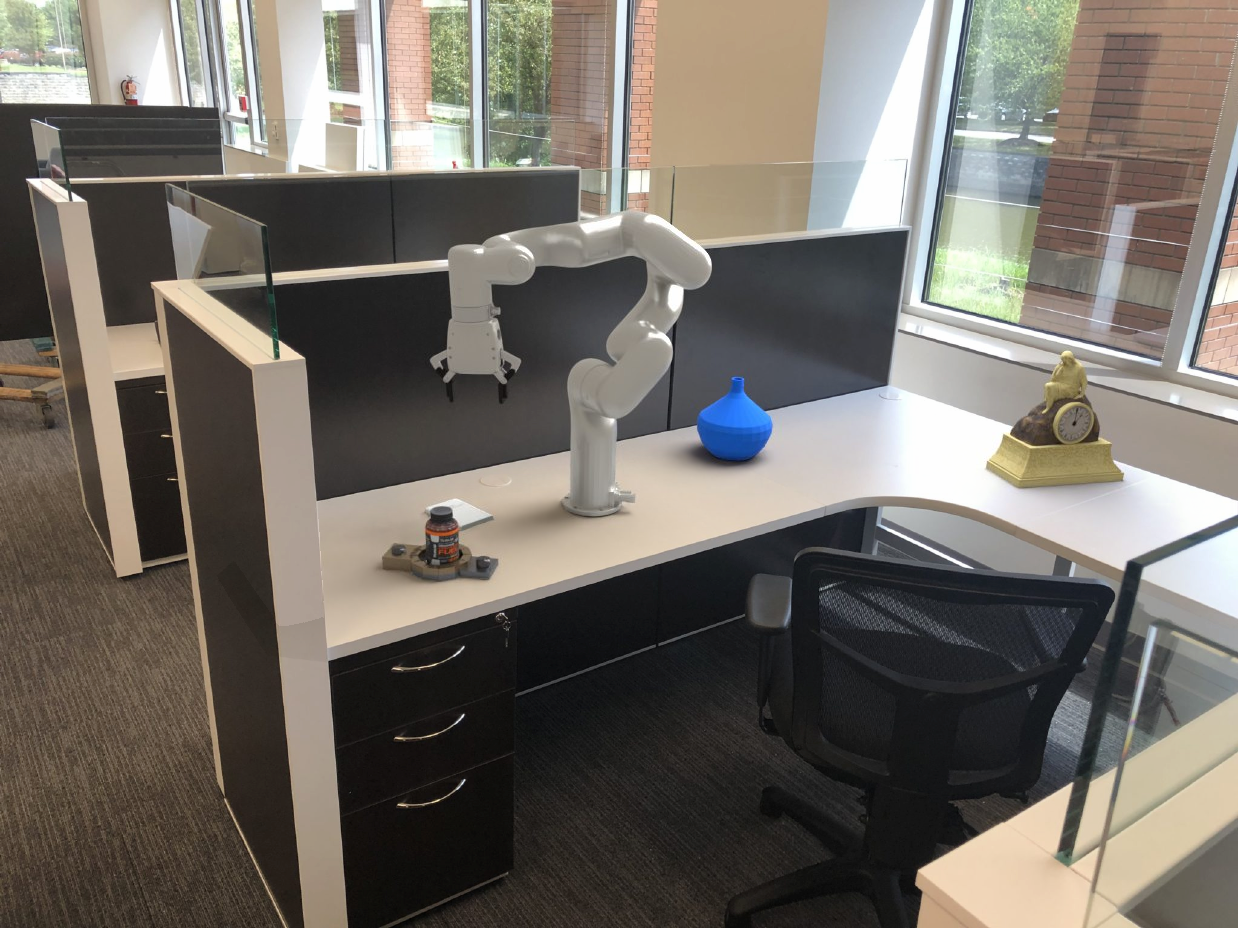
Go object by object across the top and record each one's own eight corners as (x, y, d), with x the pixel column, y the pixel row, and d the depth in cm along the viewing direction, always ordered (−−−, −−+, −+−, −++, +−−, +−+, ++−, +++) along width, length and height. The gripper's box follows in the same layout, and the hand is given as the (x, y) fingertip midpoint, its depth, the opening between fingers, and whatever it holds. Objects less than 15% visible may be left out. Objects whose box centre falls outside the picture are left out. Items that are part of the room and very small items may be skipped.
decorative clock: (1017, 488, 223) (1041, 361, 212) (985, 468, 234) (1006, 347, 223) (1122, 480, 229) (1150, 357, 218) (1085, 461, 241) (1111, 343, 230)
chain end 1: (478, 556, 182) (478, 541, 181) (460, 583, 172) (460, 568, 171) (399, 548, 184) (398, 534, 183) (377, 574, 174) (376, 559, 173)
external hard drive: (461, 533, 192) (424, 514, 201) (493, 522, 198) (457, 504, 206) (460, 526, 192) (424, 507, 200) (493, 514, 197) (457, 497, 205)
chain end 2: (502, 558, 181) (501, 546, 180) (485, 585, 171) (485, 573, 170) (422, 550, 183) (421, 539, 182) (401, 577, 173) (400, 565, 172)
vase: (748, 438, 249) (753, 366, 243) (783, 462, 233) (790, 386, 227) (683, 445, 243) (687, 371, 236) (715, 470, 227) (720, 392, 220)
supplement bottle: (440, 577, 174) (438, 519, 170) (419, 566, 177) (417, 509, 173) (466, 566, 178) (464, 510, 174) (445, 556, 182) (443, 500, 178)
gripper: (522, 309, 182) (526, 396, 188) (432, 308, 184) (439, 394, 190) (514, 318, 175) (518, 408, 181) (420, 317, 177) (428, 406, 183)
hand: (478, 401), depth 186 cm, fingers open, 9 cm apart
